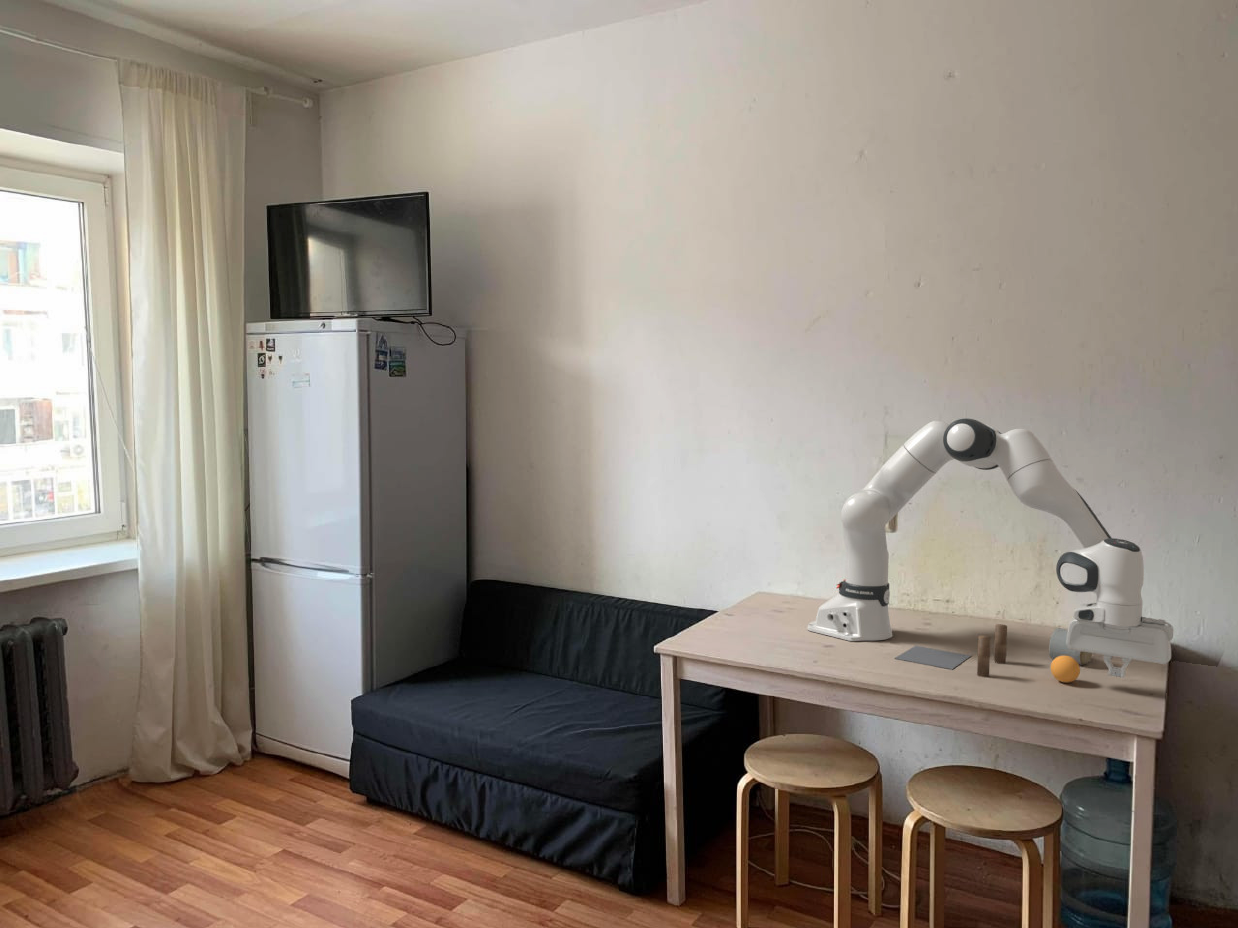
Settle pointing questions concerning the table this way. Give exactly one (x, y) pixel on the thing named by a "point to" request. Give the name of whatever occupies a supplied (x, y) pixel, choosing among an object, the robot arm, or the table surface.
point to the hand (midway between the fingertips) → (1116, 675)
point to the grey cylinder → (1065, 648)
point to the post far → (1000, 643)
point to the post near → (983, 656)
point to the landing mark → (933, 657)
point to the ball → (1065, 669)
